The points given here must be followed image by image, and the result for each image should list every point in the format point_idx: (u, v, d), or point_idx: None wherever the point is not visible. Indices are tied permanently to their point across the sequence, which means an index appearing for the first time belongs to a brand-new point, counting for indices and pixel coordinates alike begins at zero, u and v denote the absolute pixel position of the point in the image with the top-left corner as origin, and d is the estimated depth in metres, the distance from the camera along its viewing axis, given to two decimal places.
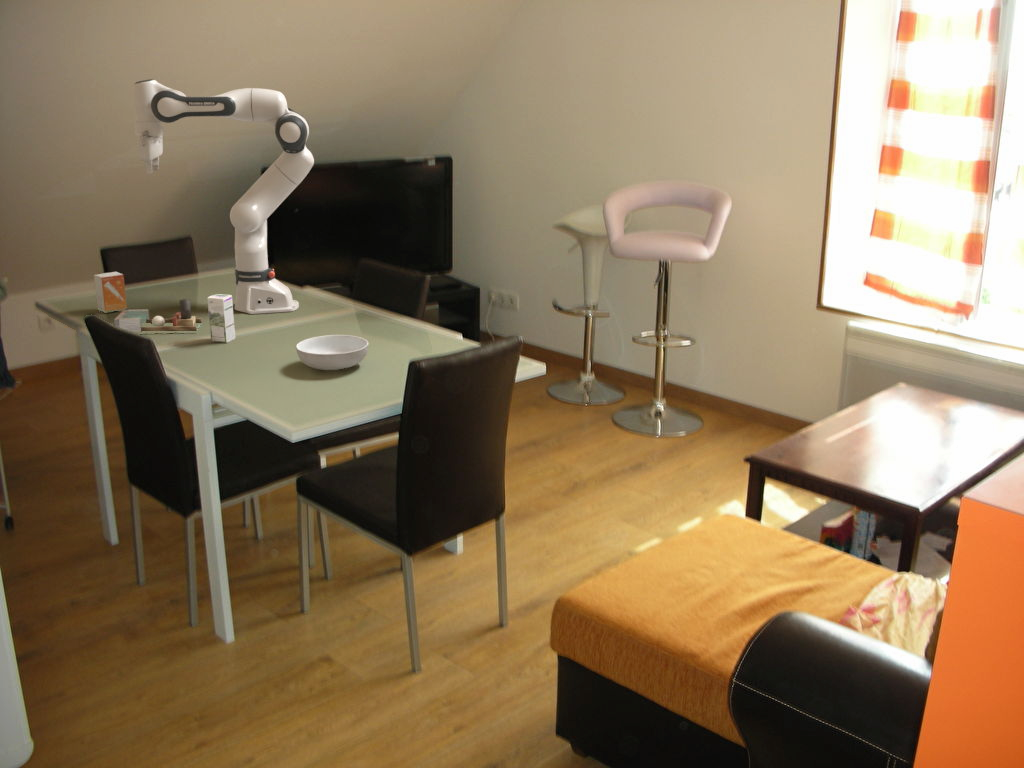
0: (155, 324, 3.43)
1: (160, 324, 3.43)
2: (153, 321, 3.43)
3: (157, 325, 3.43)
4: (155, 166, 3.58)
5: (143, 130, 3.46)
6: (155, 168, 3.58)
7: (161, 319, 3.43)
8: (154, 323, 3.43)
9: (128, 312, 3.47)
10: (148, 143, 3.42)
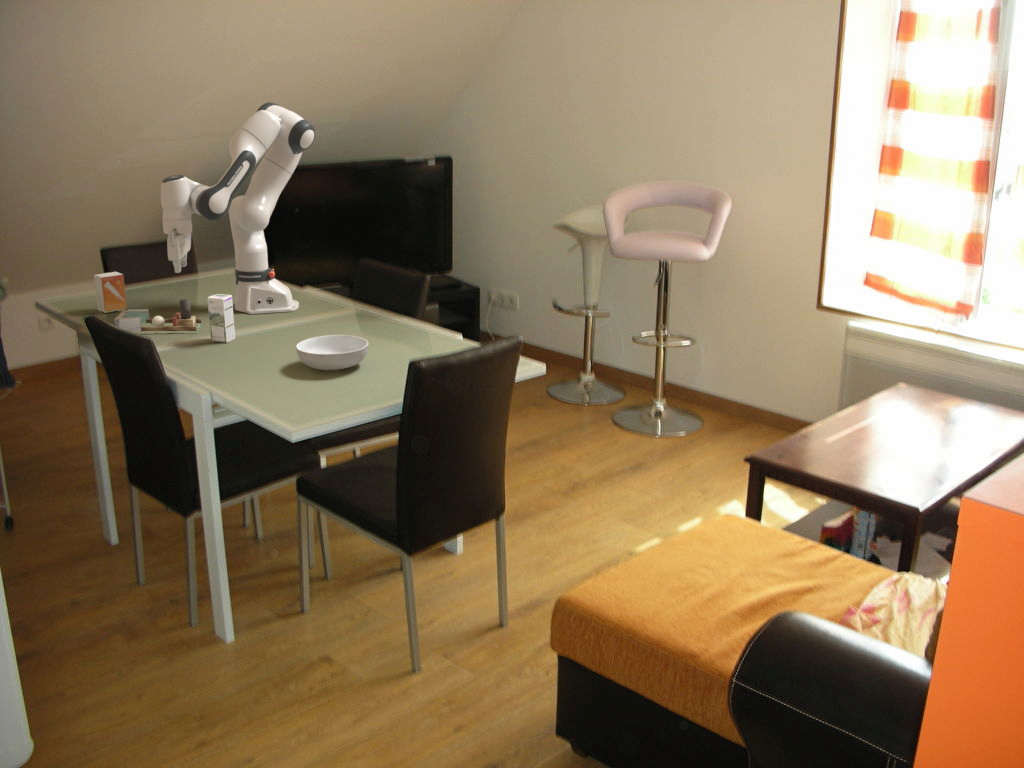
0: (155, 324, 3.43)
1: (160, 324, 3.43)
2: (153, 321, 3.43)
3: (157, 325, 3.43)
4: (183, 262, 3.43)
5: (172, 228, 3.32)
6: (183, 264, 3.44)
7: (161, 319, 3.43)
8: (154, 323, 3.43)
9: (128, 312, 3.47)
10: (177, 243, 3.28)
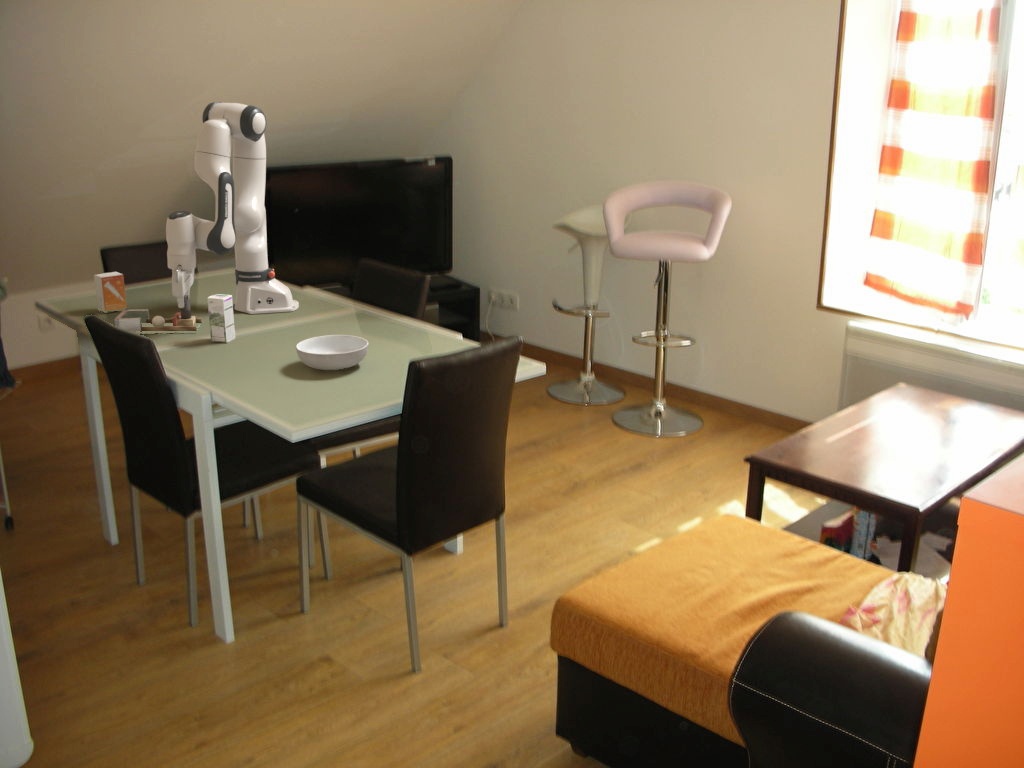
0: (155, 324, 3.43)
1: (160, 324, 3.43)
2: (153, 321, 3.43)
3: (157, 325, 3.43)
4: (186, 297, 3.46)
5: (176, 264, 3.34)
6: None
7: (161, 319, 3.43)
8: (154, 323, 3.43)
9: (128, 312, 3.47)
10: (182, 279, 3.31)
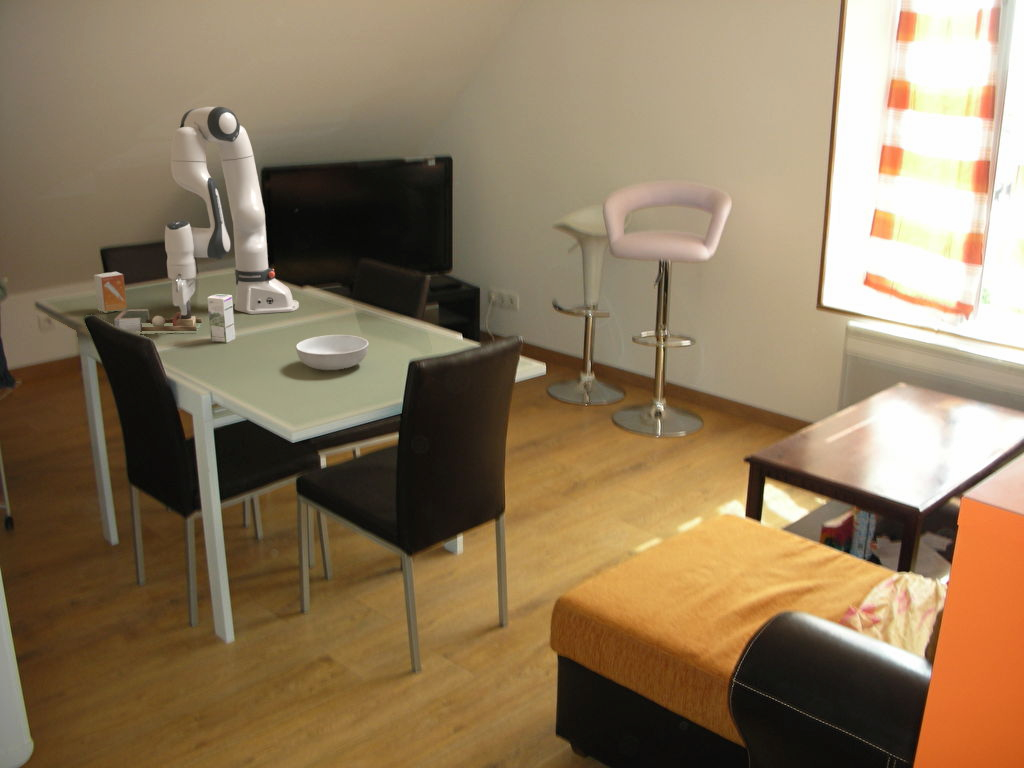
0: (155, 324, 3.43)
1: (160, 324, 3.43)
2: (153, 321, 3.43)
3: (157, 325, 3.43)
4: None
5: (176, 274, 3.36)
6: None
7: (161, 319, 3.43)
8: (154, 323, 3.43)
9: (128, 312, 3.47)
10: (182, 288, 3.33)
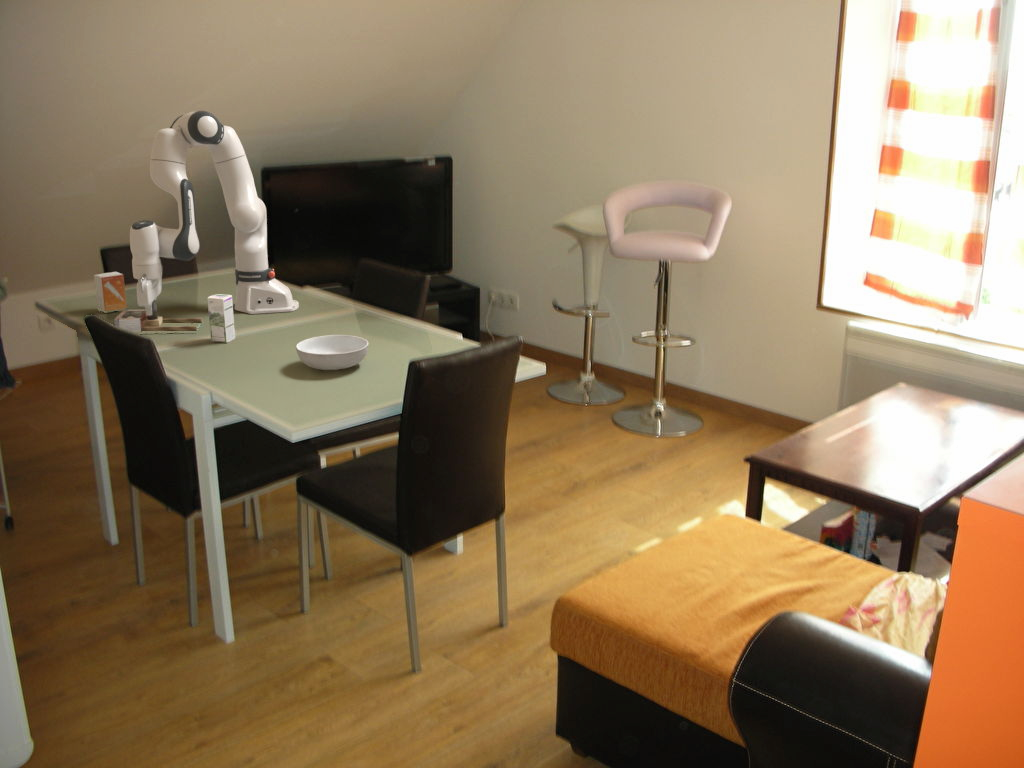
0: None
1: None
2: None
3: None
4: None
5: (141, 274, 3.35)
6: None
7: None
8: None
9: (128, 312, 3.47)
10: (146, 289, 3.31)
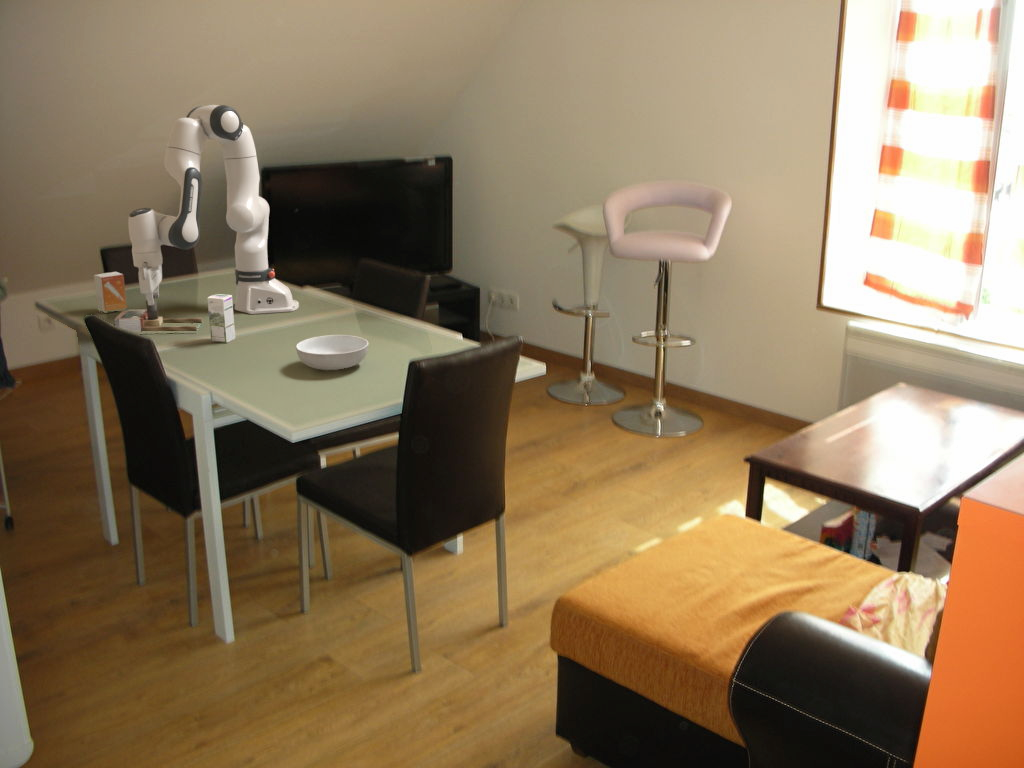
0: None
1: None
2: None
3: None
4: (155, 294, 3.45)
5: (142, 261, 3.33)
6: (155, 296, 3.45)
7: None
8: None
9: (128, 312, 3.47)
10: (149, 276, 3.30)
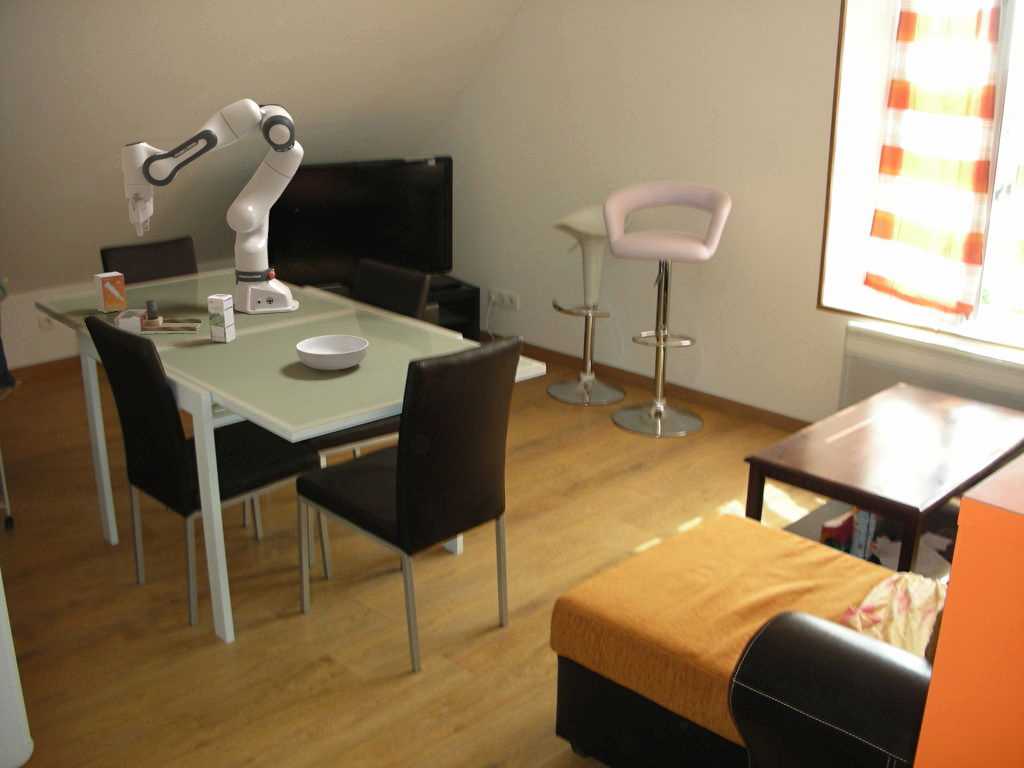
0: None
1: None
2: None
3: None
4: (145, 227, 3.55)
5: (133, 193, 3.43)
6: (145, 229, 3.55)
7: None
8: None
9: (128, 312, 3.47)
10: (138, 206, 3.40)
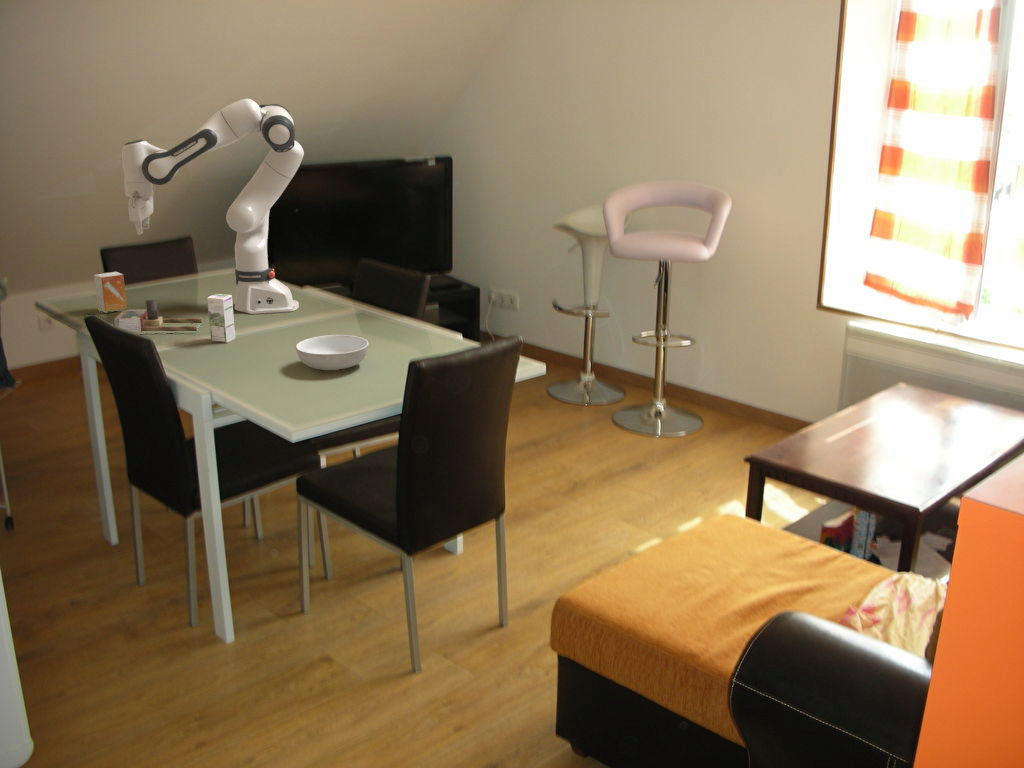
0: None
1: None
2: None
3: None
4: (145, 225, 3.56)
5: (133, 191, 3.44)
6: (145, 227, 3.56)
7: None
8: None
9: (128, 312, 3.47)
10: (138, 205, 3.40)
